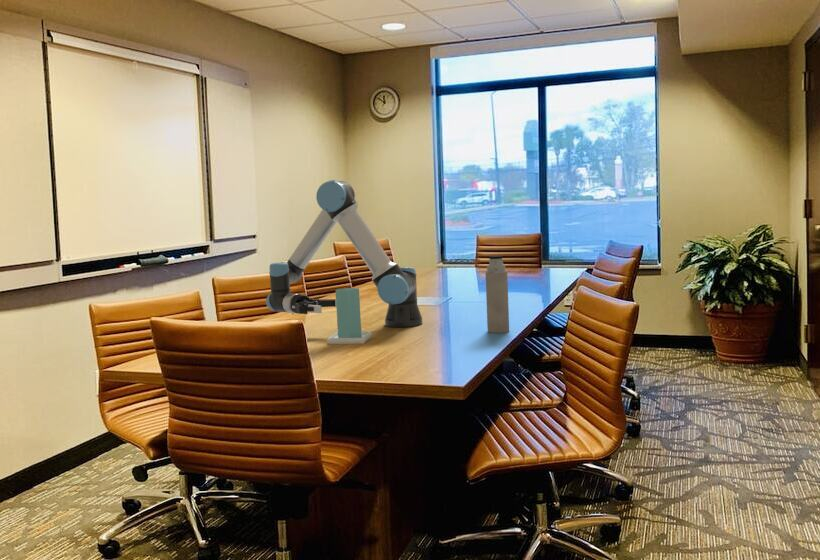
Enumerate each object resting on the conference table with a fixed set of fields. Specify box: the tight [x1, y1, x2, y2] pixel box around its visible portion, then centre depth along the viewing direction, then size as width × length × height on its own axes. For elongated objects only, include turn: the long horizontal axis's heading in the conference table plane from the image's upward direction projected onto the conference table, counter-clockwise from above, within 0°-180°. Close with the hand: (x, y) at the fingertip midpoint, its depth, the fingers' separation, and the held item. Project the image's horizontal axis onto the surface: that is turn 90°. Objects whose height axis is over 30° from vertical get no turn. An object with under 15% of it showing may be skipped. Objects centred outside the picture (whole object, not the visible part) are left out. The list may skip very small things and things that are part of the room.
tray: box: [326, 330, 373, 345], centre depth 271 cm, size 13×13×2 cm
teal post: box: [335, 287, 362, 338], centre depth 270 cm, size 6×6×18 cm
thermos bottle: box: [485, 255, 510, 334], centre depth 274 cm, size 8×8×28 cm
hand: (334, 306), depth 274 cm, fingers open, 13 cm apart
